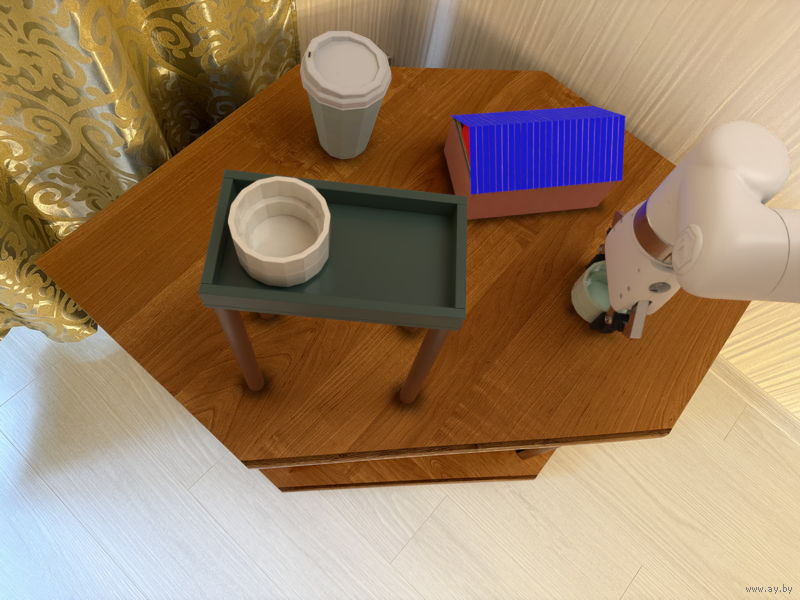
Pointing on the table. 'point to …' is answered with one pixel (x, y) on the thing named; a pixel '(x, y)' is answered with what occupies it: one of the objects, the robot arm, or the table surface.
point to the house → (535, 159)
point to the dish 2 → (592, 292)
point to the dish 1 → (280, 230)
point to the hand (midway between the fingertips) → (599, 298)
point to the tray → (353, 269)
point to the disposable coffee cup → (344, 89)
